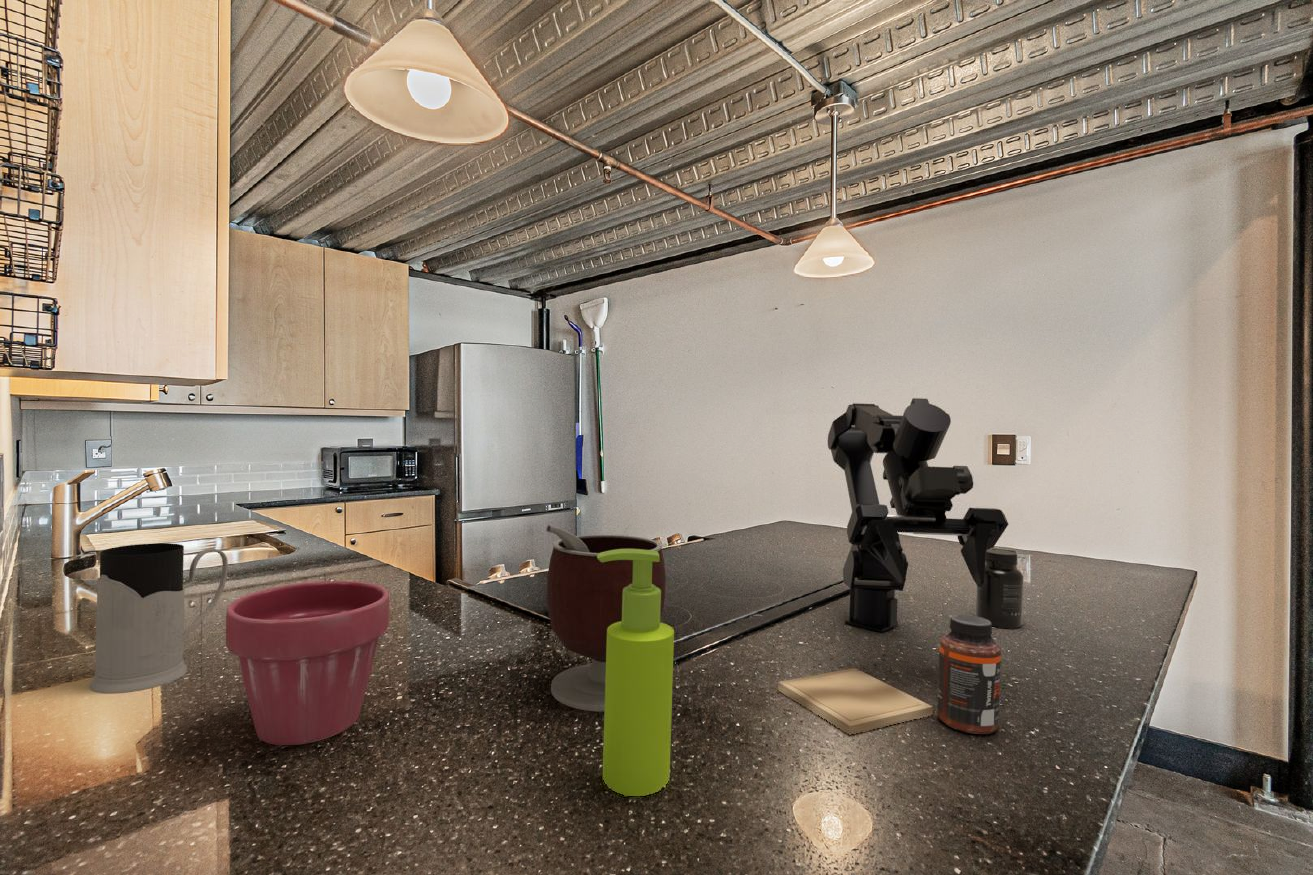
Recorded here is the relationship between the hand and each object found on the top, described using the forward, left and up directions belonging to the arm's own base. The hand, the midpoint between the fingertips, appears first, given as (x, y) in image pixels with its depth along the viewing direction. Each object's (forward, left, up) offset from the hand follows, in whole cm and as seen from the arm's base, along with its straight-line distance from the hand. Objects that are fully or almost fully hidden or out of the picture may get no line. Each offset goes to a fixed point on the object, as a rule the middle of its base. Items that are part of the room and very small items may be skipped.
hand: (942, 583), depth 75 cm
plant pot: (-41, -57, -13) cm, 71 cm away
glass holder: (-67, -65, -13) cm, 94 cm away
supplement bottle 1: (+5, -6, -13) cm, 15 cm away
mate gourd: (-28, -30, -13) cm, 43 cm away
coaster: (-6, -10, -13) cm, 18 cm away
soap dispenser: (-12, -40, -13) cm, 44 cm away
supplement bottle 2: (-4, +38, -13) cm, 41 cm away
